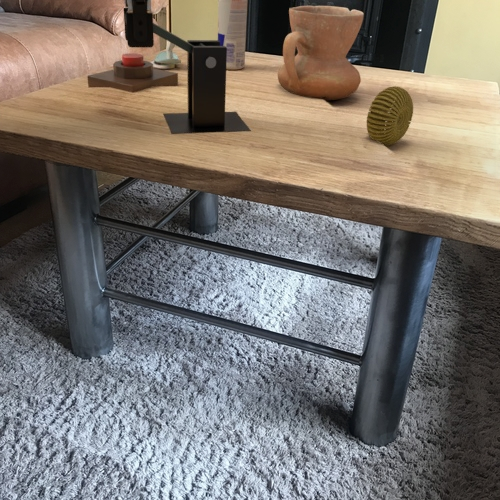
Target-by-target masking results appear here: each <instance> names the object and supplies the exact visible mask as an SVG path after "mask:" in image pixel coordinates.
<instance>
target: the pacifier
mask: <svg viewBox="0 0 500 500" xmlns="http://www.w3.org/2000/svg"><path fill="white" fill-rule="evenodd" d="M175 47H176V45H174V44H173V43H171V42H169V41H167V40H166V50H164V51H161V52H159V53H158V54H157V55H156V56H155V57H154V58H155V59H154V60H151V61H149V62H150V63H152V64H153V68H154V69H159V70H165V69H166V70H167V69H175V68H176V67H175V66H176V65H177V64H178V65H179V64H181V63H182V60H181V59H179V56H178V55H177V54H176V53H175V52H173V50H174V49H175Z"/></svg>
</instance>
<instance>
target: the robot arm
mask: <svg viewBox="0 0 500 500" xmlns="http://www.w3.org/2000/svg"><path fill="white" fill-rule="evenodd" d="M127 11H128V12H127ZM125 15H126V21H125ZM123 21H124V23H123V24H124V38H125V40H126V42H127V43H126V44H127V46H128V47H129V48H153V47H154V45H155V44H154V43H155V41H154V39H155V38H154V33H153V23H154V15H153V12H152V0H124V7H123Z"/></svg>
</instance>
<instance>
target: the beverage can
mask: <svg viewBox="0 0 500 500" xmlns="http://www.w3.org/2000/svg"><path fill="white" fill-rule="evenodd" d="M217 14H218V15H217V40H219V41H220V46H226V47H227V62H226V71H227V70H228V71H229V70H230V71H234V70H235V71H238V70H241V69H244V67H245V65H246V63H245V61H246V40H247V21H248V20H247V19H248V18H247V17H248V0H218V13H217Z"/></svg>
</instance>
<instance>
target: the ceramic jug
mask: <svg viewBox="0 0 500 500" xmlns="http://www.w3.org/2000/svg"><path fill="white" fill-rule="evenodd" d="M288 14H289V23H290V24H289V25H290V28H291V32H290V33H288V34H287V35H286V36H285V38H284V41H283V45H282V57H283V58H282V59H283V64H282V65H281V66H280V68H279V69H278V72H277V81H278V83H279V85H280V86H281V87H282V88H283V89H284V90H286V91H287V92H289V93H290V94H294V95H297V96H300V97H301V96H302V97H305V98H306V97H307V98H314V99H322V100H323V101H337V100H342V99H345V98H347V97H350V96H352V95H353V94H354V93H355V92H356V91H357V90H358V88H359V86H360V85H361V82H362V78H361V74H360V71H359V70H358V68H357V67H356V66H354V65H353V64H352V63H351V62H350V61H349V60H348V58H347V55H348V53H349V51H350V50H351V48H352V46H353V44H354V43H355V41H356V39H357V36H358V33H359V32H360V29H361V27H362V24H363V21H364V15H365V14H364V12H363V11H361V10H357V9H351V10H350V9H349V8H348V7H343V6H342V7H341V6H333V5H332V6H331V5H300V6H296V7H289V10H288ZM296 50H297V53H296Z"/></svg>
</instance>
